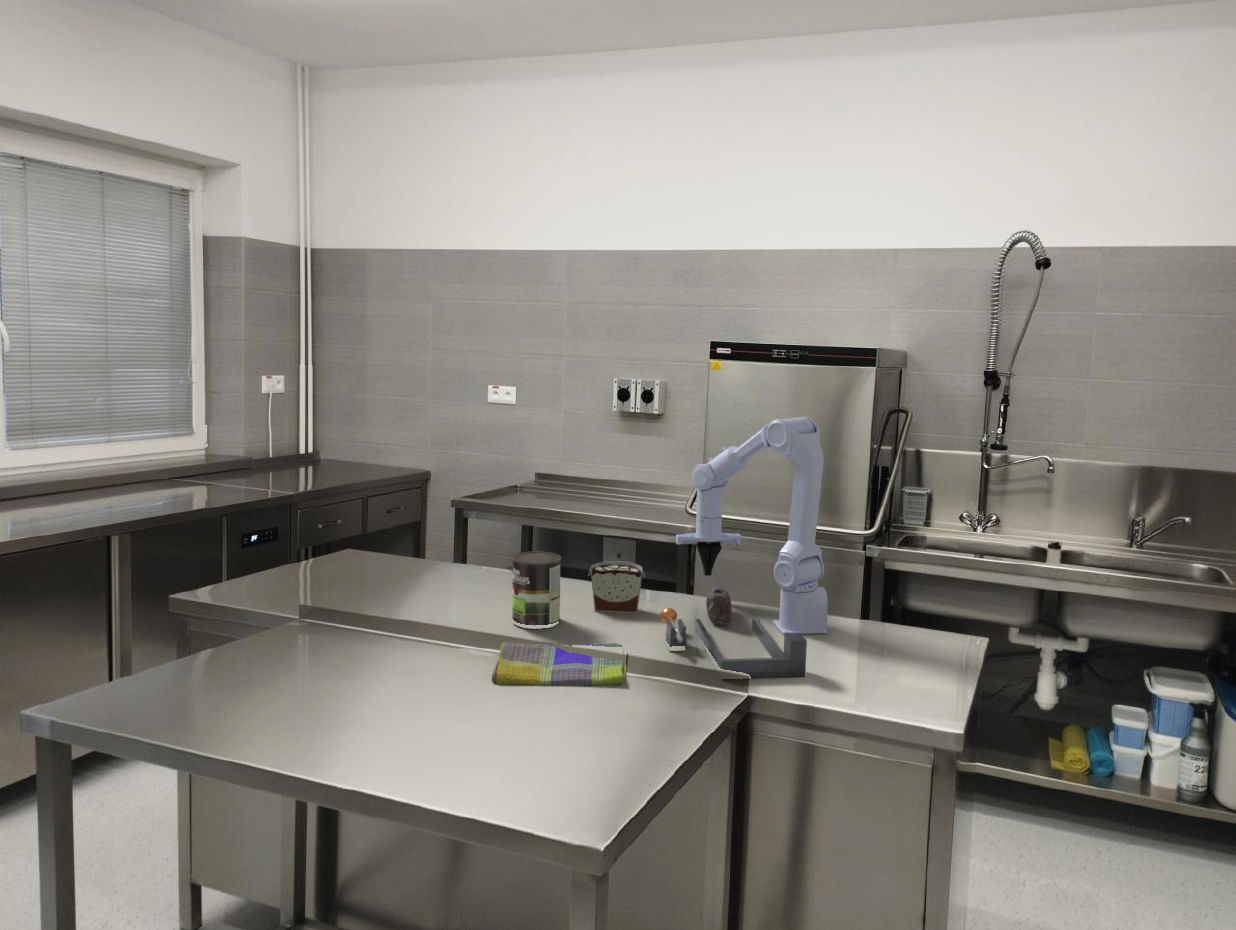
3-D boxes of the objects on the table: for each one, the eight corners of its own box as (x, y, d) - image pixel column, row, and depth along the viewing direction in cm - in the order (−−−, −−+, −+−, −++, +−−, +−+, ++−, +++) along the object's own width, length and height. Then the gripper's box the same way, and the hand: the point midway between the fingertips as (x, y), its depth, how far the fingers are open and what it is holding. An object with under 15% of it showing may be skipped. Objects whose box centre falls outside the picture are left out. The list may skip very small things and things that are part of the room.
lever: (675, 621, 197) (675, 605, 196) (689, 648, 181) (689, 631, 180) (659, 621, 196) (659, 605, 196) (671, 649, 180) (672, 632, 180)
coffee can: (528, 633, 193) (528, 566, 191) (502, 619, 201) (502, 555, 199) (570, 623, 199) (570, 558, 197) (543, 610, 207) (543, 548, 205)
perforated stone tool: (704, 606, 212) (705, 576, 210) (728, 607, 211) (729, 577, 210) (706, 629, 197) (707, 597, 196) (732, 630, 197) (733, 598, 195)
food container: (646, 604, 212) (646, 561, 211) (644, 613, 206) (644, 569, 204) (591, 602, 213) (591, 559, 212) (588, 611, 207) (588, 567, 206)
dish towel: (624, 690, 166) (624, 675, 166) (486, 687, 167) (486, 672, 167) (627, 654, 183) (628, 641, 183) (503, 651, 184) (502, 637, 184)
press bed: (768, 629, 197) (769, 596, 196) (805, 677, 172) (806, 640, 170) (660, 631, 195) (661, 598, 194) (682, 680, 169) (682, 643, 168)
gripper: (736, 511, 218) (734, 568, 220) (674, 512, 216) (673, 569, 219) (743, 518, 211) (741, 577, 213) (679, 519, 209) (677, 578, 212)
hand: (707, 574), depth 215 cm, fingers closed
